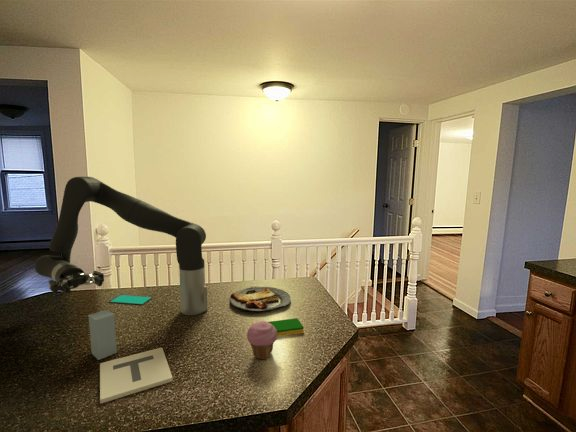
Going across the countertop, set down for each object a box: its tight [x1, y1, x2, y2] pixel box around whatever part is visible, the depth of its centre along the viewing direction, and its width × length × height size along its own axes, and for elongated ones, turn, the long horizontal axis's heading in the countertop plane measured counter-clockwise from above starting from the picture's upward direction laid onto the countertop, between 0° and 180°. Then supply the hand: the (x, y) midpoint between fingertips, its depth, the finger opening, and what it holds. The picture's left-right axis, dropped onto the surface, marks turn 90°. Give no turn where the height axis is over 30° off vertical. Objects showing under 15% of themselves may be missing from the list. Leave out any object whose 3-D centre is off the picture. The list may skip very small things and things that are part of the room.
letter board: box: [99, 347, 174, 404], centre depth 84 cm, size 16×16×1 cm
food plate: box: [228, 286, 291, 312], centre depth 130 cm, size 25×23×4 cm
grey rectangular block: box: [87, 309, 118, 361], centre depth 92 cm, size 5×5×12 cm
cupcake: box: [246, 320, 278, 360], centre depth 92 cm, size 9×9×10 cm
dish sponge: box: [268, 317, 305, 337], centre depth 107 cm, size 7×14×2 cm, turn 106°
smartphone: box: [108, 294, 153, 306], centre depth 130 cm, size 7×1×15 cm
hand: (85, 286), depth 97 cm, fingers open, 8 cm apart
